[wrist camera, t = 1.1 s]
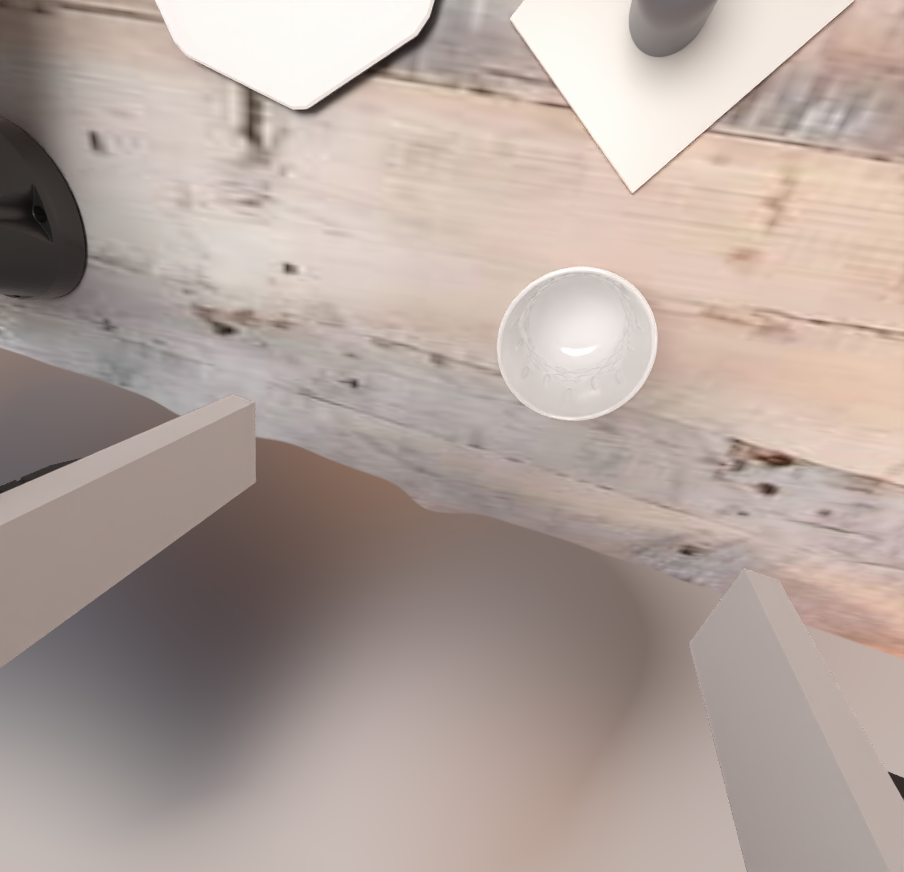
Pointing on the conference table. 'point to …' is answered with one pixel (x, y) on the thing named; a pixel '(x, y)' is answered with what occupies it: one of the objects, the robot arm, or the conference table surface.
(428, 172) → the conference table surface
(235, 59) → the plate
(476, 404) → the conference table surface
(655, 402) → the conference table surface
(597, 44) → the lid
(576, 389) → the white cup
